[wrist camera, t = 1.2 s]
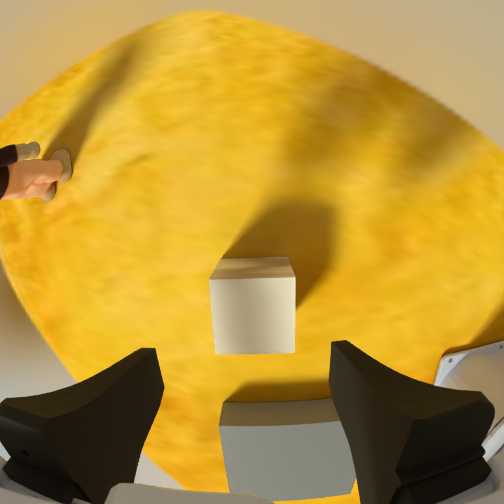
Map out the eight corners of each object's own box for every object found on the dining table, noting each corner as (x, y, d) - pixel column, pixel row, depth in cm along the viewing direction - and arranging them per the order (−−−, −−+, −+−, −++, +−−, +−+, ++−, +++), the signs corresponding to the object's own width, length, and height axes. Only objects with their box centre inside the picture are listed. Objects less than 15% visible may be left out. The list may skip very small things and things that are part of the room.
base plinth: (364, 394, 23) (374, 415, 20) (345, 473, 25) (350, 493, 22) (223, 402, 23) (218, 425, 20) (233, 480, 26) (231, 500, 23)
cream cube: (287, 256, 21) (295, 277, 16) (287, 317, 22) (294, 352, 17) (220, 258, 21) (208, 279, 16) (225, 319, 22) (215, 354, 17)
